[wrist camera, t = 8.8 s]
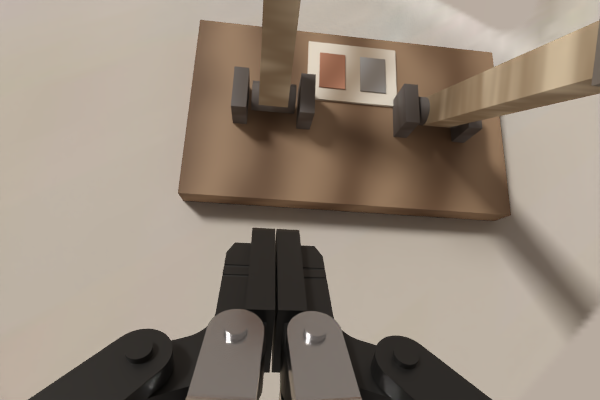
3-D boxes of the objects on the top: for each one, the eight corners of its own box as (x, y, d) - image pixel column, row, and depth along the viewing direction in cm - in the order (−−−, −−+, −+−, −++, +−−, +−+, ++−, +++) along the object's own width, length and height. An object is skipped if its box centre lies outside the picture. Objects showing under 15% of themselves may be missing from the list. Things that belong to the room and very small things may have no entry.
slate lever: (410, 131, 29) (684, 60, 10) (413, 94, 29) (700, -50, 10) (447, 134, 29) (781, 72, 10) (451, 97, 29) (798, -35, 10)
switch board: (183, 200, 28) (170, 181, 23) (203, 37, 31) (195, -6, 27) (494, 220, 30) (534, 206, 26) (478, 67, 34) (511, 32, 30)
